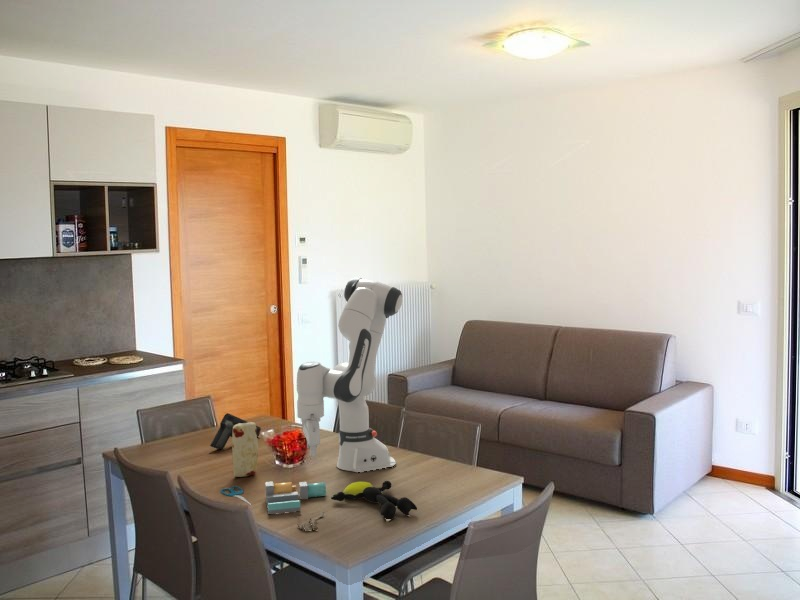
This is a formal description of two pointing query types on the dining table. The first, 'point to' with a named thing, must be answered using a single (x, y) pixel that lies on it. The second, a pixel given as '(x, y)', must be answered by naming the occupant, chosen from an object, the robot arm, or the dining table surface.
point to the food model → (244, 449)
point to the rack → (283, 502)
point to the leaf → (310, 525)
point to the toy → (376, 498)
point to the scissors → (235, 493)
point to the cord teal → (311, 490)
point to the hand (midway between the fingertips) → (311, 452)
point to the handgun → (227, 430)
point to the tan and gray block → (277, 488)
